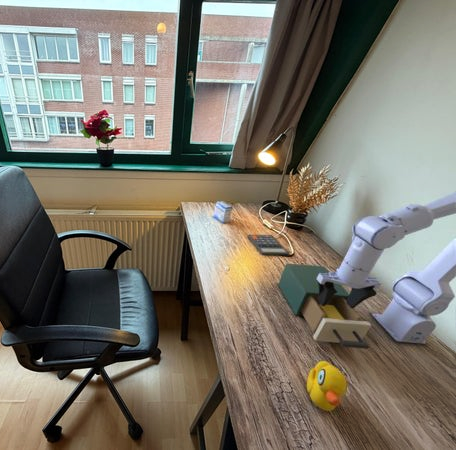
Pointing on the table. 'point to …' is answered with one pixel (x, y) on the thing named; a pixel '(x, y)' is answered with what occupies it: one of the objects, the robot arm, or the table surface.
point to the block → (331, 312)
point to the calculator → (268, 245)
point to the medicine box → (223, 211)
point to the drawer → (335, 323)
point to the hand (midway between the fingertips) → (335, 304)
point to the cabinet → (303, 284)
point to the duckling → (326, 385)
